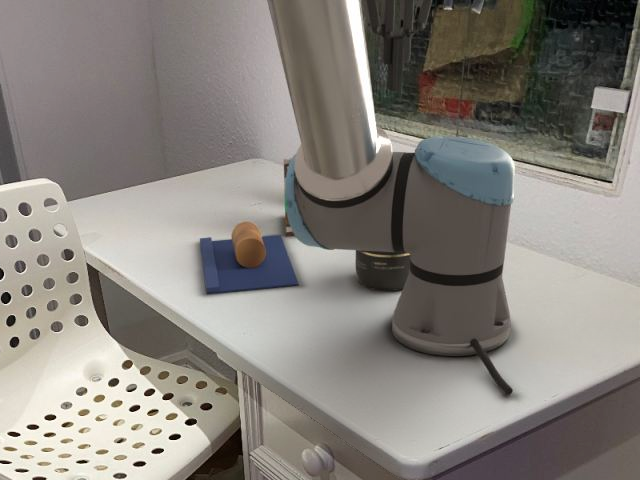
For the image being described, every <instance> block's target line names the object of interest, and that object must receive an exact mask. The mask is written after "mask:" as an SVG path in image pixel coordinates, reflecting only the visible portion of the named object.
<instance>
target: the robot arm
mask: <svg viewBox="0 0 640 480" xmlns="http://www.w3.org/2000/svg"><path fill="white" fill-rule="evenodd" d="M266 2H267V6H268V10H269V14H270V18H271V23H272V27H273V31H274V35H275V39H276V43H277V48H278V52H279V56H280V60H281V64H282V68H283V72H284V76H285V82H286V86H287V90H288V94H289V98H290V102H291V106H292V110H293V114H294V118H295V124H296V127H297V132H298V135H299V139H300V145H299V147H298V149H297V151H296V153H295V154H294V155H293V156H292V157H291V158H292V159H291V161H290V163H289V166H288V170H287V175H286V182H285V195H284V200H285V199H286V200H287V208H286V211H287V216H288V220H289V224H290V226H291V229H292V231H293V233H294V235H295V238H296V239H297V240H298V241H299V242H300V243H301V244H302V245H305V246H307V247H313V248H321V249H323V250H327V251H330V250H331V251H334V250H345V251H356V250H362V251H382V252H397V253H409V254H410V267H409V275H408V278H407V280H406V283H405V285H404V288H403V289H401V290H402V291H401V293H400V295H399V298H398V301H397V303H396V305H395V308H394V310H393V314H392V320H391V321H392V322H391V332H392V336H393V337H394V338H395V339H396V340H397V341H398V342H399V343H401V344H402V345H404V346H406V347H407V348H409V349H411V350H413V351H414V350H415V351H418V352H421V353H424V354H430V355H434V356H443V357H466V356H473V355H477V356H478V358H479V359H480V360H481V362H482V364H483V365H484V367H485V368H486V369H487V372H488V373H489V375H490V376H491V378H492V380H493V381H494V382H495V384H496V385H497V386H498V387H499V389H500V390H501V391H502V392H503V393H504V394H505V395H507V396H509V395H511V394H512V393H513V391H514V390H513V388H512V387H511V386H510V385H509V384H508V383H507V382H506V380H505V379H504V378H503V377H502V376H501V374H500V373H499V371H498V370H497V368H496V367H495V365H494V363H493V362H492V360H491V358H490V357H489V355H488V353H486V352H490V351H493V350H494V349H495V350H496V349H497V348H499V347H500V346H501V345H503V344H504V343H505V342H507V340H508V338H509V336H510V330H511V322H512V320H511V313H510V308H509V303H508V299H507V294H506V293H507V292H506V289H505V284H504V279H503V274H504V273H503V272H504V264H505V259H506V248H507V241H508V234H509V233H508V232H509V225H510V217H511V209H512V204H513V203H514V201H515V192H514V189H515V187H514V186H515V175H516V166H515V162H514V160H513V158H512V156H511V155H510V154H509V153H507V151H505V150H504V149H502V148H500V147H498V146H497V145H494V144H492V143H489V142H486V141H482V140H480V139H479V140H478V139H474V138H468V137H462V136H450V135H448V136H447V135H445V136H442V137H439V136H431V137H427V138H424V139H422V140H420V141H418V143H417V146H416V148H415V149H414V152H406V151H393V146H392V142H391V139H390V137H389V136H388V133H387V132H386V131H385V130H384V129H383V128H382V127H381V126H379V125H378V124H377V122H376V121H377V120H376V113H375V105H374V104H375V103H374V97H373V88H372V81H371V71H370V62H369V55H368V45H367V38H366V31H365V21H364V14H363V13H364V11H365V16H366V22H367V28H368V31H370V32H371V33H372V34H374V35H378V36H380V37H381V43H380V44H381V47H380V61H381V63H382V64H383V65H387V73H386V74H387V76H386V77H387V78H386V89H388V90H389V92H391V93H392V92H401V91H403V72H404V71H403V70H404V64H406V63H409V62H410V60H411V48H412V37H413V36H414V35H415V34H416V33H417V32H419V31H424V29H426V26H427V22H428V18H429V14H430V11H431V7H432V4H433V0H417V4H416V8H415V0H400V8H399V10H400V11H399V14H400V15H399V34H397V35H395V33H394V32H395V12H396V11H395V10H396V0H381V18H380V16H379V9H378V4H377V0H363V4H362V0H266ZM363 5H364V11H363ZM414 11H415V12H414ZM380 19H381V20H380Z"/></svg>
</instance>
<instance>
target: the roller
mask: <svg viewBox="0 0 640 480" xmlns="http://www.w3.org/2000/svg"><path fill="white" fill-rule="evenodd" d="M231 239H232V242H233V246H234V251H235V255H236V259H237V261H238V262H239V264H240V265H242V266H244V267H246V268H254V267H257V266H259V265H260V264H261V263H262V262H263V260H264V259H265V255H266V250H265V246H264V243H263V240H262V234H261V231H260V228H259V227H258V226H257V225H256V223H254V222H251V221H241V222H240V223H237V224H236V225H235V226H234V227H233V230H232V231H231Z"/></svg>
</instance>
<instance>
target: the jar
mask: <svg viewBox="0 0 640 480" xmlns="http://www.w3.org/2000/svg"><path fill="white" fill-rule="evenodd" d="M354 265H355V267H354V268H355V273H356V277H357V280H358V281H359V283H360V284H361V285H362V286H364V287H366V288H368V289H372V290H374V291H375V290H376V291H385V292H387V291H388V292H389V291H390V292H391V291H399V290H403V288H404V285H405V283H406V280H407V278H408V275H409V267H410V254H409V253H397V252H382V251H362V250H355V264H354Z"/></svg>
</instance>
